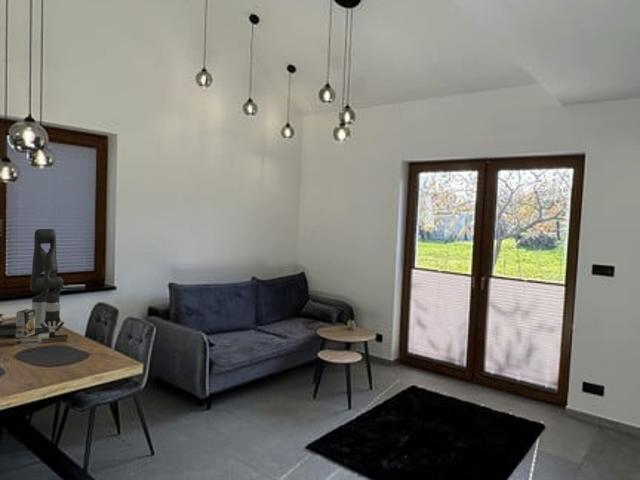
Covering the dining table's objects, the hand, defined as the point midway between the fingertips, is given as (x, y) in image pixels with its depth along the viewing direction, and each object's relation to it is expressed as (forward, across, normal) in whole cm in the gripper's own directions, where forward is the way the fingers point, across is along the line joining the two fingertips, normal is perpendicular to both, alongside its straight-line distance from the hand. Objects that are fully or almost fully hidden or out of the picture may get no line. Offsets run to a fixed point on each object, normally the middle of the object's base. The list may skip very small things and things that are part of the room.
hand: (52, 337), depth 274 cm
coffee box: (+2, +16, -17) cm, 23 cm away
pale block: (+2, +4, 0) cm, 5 cm away
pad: (+2, +10, 0) cm, 11 cm away
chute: (+2, -2, 0) cm, 3 cm away
